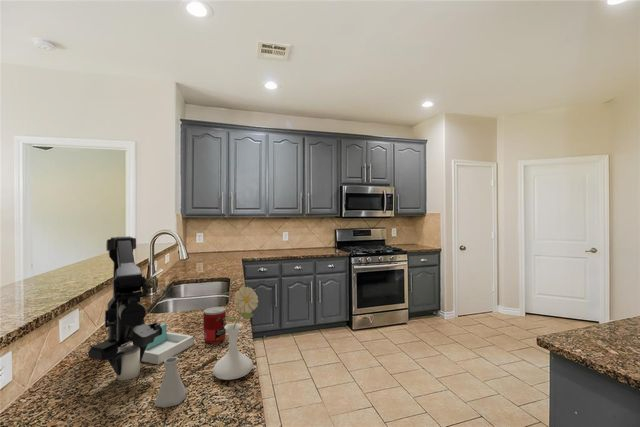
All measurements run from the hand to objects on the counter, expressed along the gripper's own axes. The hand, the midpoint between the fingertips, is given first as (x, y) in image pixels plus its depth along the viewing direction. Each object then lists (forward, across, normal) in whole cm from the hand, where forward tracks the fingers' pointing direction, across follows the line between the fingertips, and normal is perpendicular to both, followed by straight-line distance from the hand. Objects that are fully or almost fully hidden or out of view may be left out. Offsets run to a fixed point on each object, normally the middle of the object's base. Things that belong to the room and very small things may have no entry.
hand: (128, 369), depth 85 cm
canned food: (+2, +29, -7) cm, 30 cm away
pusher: (+1, +15, +9) cm, 17 cm away
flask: (+2, -5, -21) cm, 22 cm away
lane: (+1, +15, +5) cm, 16 cm away
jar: (+2, 0, 0) cm, 2 cm away
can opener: (+2, +12, -17) cm, 21 cm away
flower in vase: (+2, +11, -29) cm, 31 cm away
